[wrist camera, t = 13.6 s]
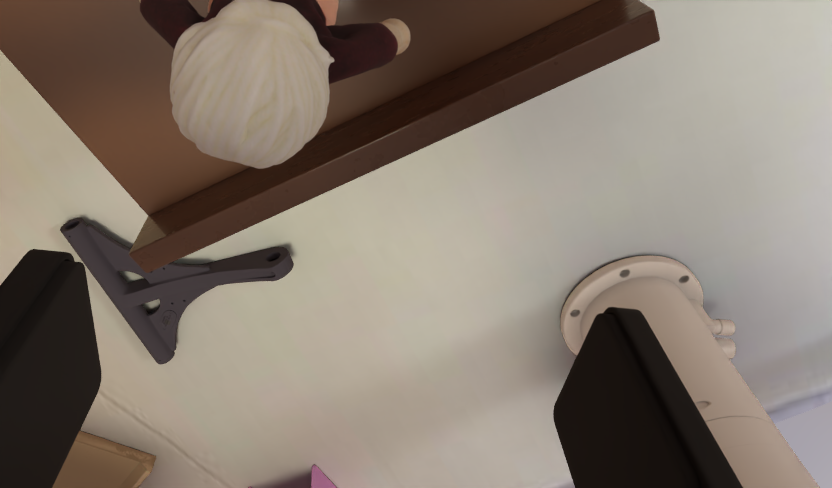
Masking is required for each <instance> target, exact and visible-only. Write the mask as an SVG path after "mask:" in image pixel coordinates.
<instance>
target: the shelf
mask: <svg viewBox="0 0 832 488" xmlns="http://www.w3.org/2000/svg"><path fill="white" fill-rule="evenodd" d="M188 1H189V2H190V4H191V5H192V6H193V7H194V8H195V9H196V11H197V12H198V13H199V15H201V16H202V17H204V18H205V17H206V16H207V15H208V13H209V12H208V5H209V0H188ZM387 19H399V20H401V21H402V22H404V23H405V24H406V26H407V27H408V29H409V31H410V43H409V46H408V47H407V49H406V50H405V51H404V52H402V53H400V54H398V55H396V56H395V58H394V59H393V60H392V61H391V62H389V63H388V64H386V65H384V66H382V67H380V68H376V69H372V70H369V71H367V72H364V73H361V74H359V75H356V76H353V77H349V78H346V79H343V80H340V81H338V82H334V83H331V84H329V91H330V94H329V104H328V107H327V114H326V118H325V120H324V122H323V124H322V126H321V127H320V129H319V131H318V132H317V134H316V135H315V136H314V137H313V138H312V139H311V140H310V141H309V142H307V143H305V145H304V146H303V148H302V149H301V150H300V151H298V152H297V153H296V154H295V155H294V156H292V157H291V158H289V159H287V160H286V161H284V162H283V163H281V164H278V165H273V166H270V167H268V168H263V169H258V168H254V167H251V166H247V165H243V164H240V163H237V162H232V161H227V160H223V159H220V158H216V157H213V156H210V155H208V154H205V153H203V152H201V151H200V150H199V149H198V148H197V146H196V144H195V143H194V142H192V141H191V140H189V139H187V138H186V137H185V136H184V135H183V134H182V133H181V132H180V129H179V126H178V124H177V123H176V121H175V119H174V117H173V114H172V107H173V104H172V102H171V96H170V80H171V71H172V60H173V54H174V49H173V48H172V47H171V46H170V45H169V44H168V43H167V42H166V40H164V39H163V38H162V37H161V36H160V35H159V34H158V33H157V32H156V31H155V30H154V29H153V28H152V27H151V26H150V25H149V24H148V23H147V21H146V20H145V19H144V18H143V16H142V14H141V12H140V1H139V0H0V50H1V51H2V52H3V53H4V55H5V56H6V57H7V58H8V59H9V60H10V61H11V62H12V64H13V65H14V66H15V67H16V68H17V69H18V70H19V71H20V72H21V74H22V75H23V76H24V77H25V78H26V79H27V80H28V81H29V83H30V84H31V85H32V86H33V87H34V88H35V89H36V90H37V91H38V93H39V94H40V95H41V96H42V97H43V98H44V99H45V100H46V102H47V103H48V104H49V105H50V106H51V107H52V108H53V109H54V111H55V112H56V113H57V114H58V115H59V116H60V117H61V118H62V119H63V121H64V122H65V123H66V124H67V125H68V126H69V127H70V128H71V130H72V131H73V132H74V133H75V134H76V135H77V136H78V137H79V138H80V140H81V141H82V142H83V143H84V144H85V145H86V146H87V147H88V149H89V150H90V151H91V152H92V153H93V154H94V155H95V156H96V158H97V159H98V160H99V161H100V162H101V163H102V164H103V165H104V166H105V168H106V169H107V170H108V171H109V172H110V173H111V174H112V175H113V177H114V178H115V179H116V180H117V181H118V182H119V183H120V184H121V186H122V187H123V188H124V189H125V190H126V191H127V192H128V193H129V194H130V196H131V197H132V198H133V199H134V200H135V201H136V202H137V203H138V205H139V206H140V207H141V208H142V209H143V210H144V211H145V212H146V213H147V215H148V218H147V220H146V221H145V223H144V225H143V227H142V229H141V231H140V233H139V235H138V237H137V239H136V241H135V242H134V244H133V246H132V248H131V250H130V252H129V256H130V257H131V258H132V259H133V260H134V261H135V262H136V263H137V264H138V265H139V266H140V267H141V268H142V269H143V270H144V272H145V273H149V272H151V271H154V270H156V269H158V268H160V267H162V266H165V265H167V264H169V263H171V262H173V261H176V260H178V259H180V258H182V257H184V256H187V255H189V254H191V253H193V252H195V251H198V250H200V249H202V248H204V247H206V246H209V245H211V244H213V243H215V242H217V241H220V240H222V239H224V238H226V237H228V236H231V235H233V234H235V233H237V232H239V231H242V230H244V229H246V228H248V227H250V226H253V225H255V224H257V223H259V222H261V221H264V220H266V219H268V218H270V217H272V216H275V215H277V214H279V213H281V212H283V211H286V210H288V209H290V208H292V207H294V206H297V205H299V204H301V203H303V202H305V201H308V200H310V199H312V198H314V197H316V196H319V195H321V194H323V193H325V192H327V191H330V190H332V189H334V188H336V187H338V186H341V185H343V184H345V183H347V182H349V181H352V180H354V179H356V178H358V177H360V176H363V175H365V174H367V173H369V172H371V171H374V170H376V169H378V168H380V167H382V166H385V165H387V164H389V163H391V162H393V161H396V160H398V159H400V158H402V157H404V156H407V155H409V154H411V153H413V152H415V151H418V150H420V149H422V148H424V147H426V146H429V145H431V144H433V143H435V142H437V141H440V140H442V139H444V138H446V137H448V136H451V135H453V134H455V133H457V132H459V131H462V130H464V129H466V128H468V127H470V126H473V125H475V124H477V123H479V122H481V121H484V120H486V119H488V118H490V117H492V116H495V115H497V114H499V113H501V112H503V111H506V110H508V109H510V108H512V107H514V106H517V105H519V104H521V103H523V102H525V101H528V100H530V99H532V98H534V97H536V96H539V95H541V94H543V93H545V92H547V91H550V90H552V89H554V88H556V87H558V86H561V85H563V84H565V83H567V82H569V81H572V80H574V79H576V78H578V77H580V76H583V75H585V74H587V73H589V72H591V71H594V70H596V69H598V68H600V67H602V66H605V65H607V64H609V63H611V62H613V61H616V60H618V59H620V58H622V57H624V56H627V55H629V54H631V53H633V52H635V51H638V50H640V49H642V48H644V47H646V46H649V45H651V44H653V43H655V42H657V41H659V40H660V36H659V32H658V27H657V22H656V17H655V12H654V10H653V9H651V8H650V7H648V6H647V5H645V4H643V3H642V2H640V1H639V0H339V3H338V10H337V16H336V22H335V25H340V26H343V25H348V24H359V23H380V22H383V21H384V20H387Z"/></svg>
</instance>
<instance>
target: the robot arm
mask: <svg viewBox="0 0 832 488" xmlns="http://www.w3.org/2000/svg"><path fill="white" fill-rule="evenodd" d="M702 306H703V291H702V288H701V286H700V283H699V281H698V280H697V279H696V277H695V276H694V274H693V273H692V272H691V271H690V270H689V269H688V268H687V267H686V266H685V265H683V264H681V263H680V262H678V261H676V260H673V259H670V258H667V257H662V256H652V255H648V256H635V257H631V258H626V259H622V260H619V261H616V262H613V263H611V264H608V265H606V266H604V267H602V268H601V269H599V270H597V271H595V272H594V273H592V274H591V275H590V276H588V277H587V278H585V279H584V280H583V281H582V282H581V283H580V284H579V285H578V286H577V287H576V288H575V289H574V290H573V292H572V293H571V294H570V296H569V297H568V299H567V301H566V303H565V305H564V307H563V309H562V314H561V318H560V327H561V331H562V335H563V337H564V340H565V342H566V344H567V346H568V348H569V349H570V350H571V351H572V352H573V354H575V355H576V356H577V357H576V360H575V362H574V364H573V366H572V368H571V370H570V373H569V375H568V377H567V379H566V381H565V383H564V386H563V388H562V390H561V392H560V394H559V396H558V399H557V401H556V403H555V406H554V422H555V426H556V429H557V432H558V435H559V438H560V442H561V445H562V448H563V451H564V454H565V457H566V460H567V463H568V467H569V470H570V473H571V476H572V479H573V482H574V485H575V488H820V487H819V486H818V484H817V483H816V482H815V480H814V479H813V478H812V476H811V475H810V473H809V472H808V471H807V469H806V468H805V467H804V466H803V464H802V463H801V461H800V460H799V459H798V457H797V456H796V454H795V453H794V452H793V450H792V449H791V447H790V446H789V445H788V443H787V442H786V440H785V439H784V437H783V436H782V434H781V433H780V432H779V430H778V429H777V428H776V426H775V424H774V423H773V422H772V420H771V419H770V417H769V416H768V414H767V413H766V411H765V410H764V409H763V407H762V406H761V404H760V403H759V401H758V400H757V398H756V397H755V396H754V394H753V393H752V391H751V390H750V388H749V387H748V385H747V384H746V383H745V381H744V380H743V378H742V377H741V375H740V374H739V372H738V371H737V370H736V368H735V367H734V365H733V364H732V362H731V361H730V359H732V358H733V357H734V356H735V352H736V346H735V344H734V342H733V341H732V340H731V339H725V338H714V336H713V335H712V334H716V335H728V336H731V335H733V334H734V331H735V324H734V322H733V321H731V320H722V319H716V320H713V319H711V318H710V317H709V316H708V315H707V313H706V312H705V311H704V309H703V308H702ZM100 382H101V367H100V360H99V354H98V348H97V342H96V335H95V329H94V323H93V316H92V310H91V304H90V297H89V291H88V285H87V278H86V272H85V267H84V265H83V263H81V262H75V261H74V258H73V256H72V255H71V254H70V253H67V252H57V251H47V250H37V249H33V250H30V251H29V252H27V253H26V254H25V256H24V257H23V258H22V259H21V261H20V262H19V263H18V264H17V266H16V267H15V268H14V269H13V271H12V272H11V273H10V274H9V275H8V277H7V278H6V279H5V280H4V282H3V283H2V284H1V285H0V488H52V487H53V485H54V483H55V481H56V479H57V477H58V474H59V472H60V470H61V468H62V466H63V464H64V462H65V460H66V458H67V456H68V454H69V451H70V449H71V447H72V445H73V443H74V441H75V439H76V437H77V435H78V433H79V431H80V428H81V426H82V424H83V422H84V420H85V418H86V416H87V414H88V412H89V410H90V408H91V405H92V403H93V401H94V399H95V397H96V395H97V393H98V390H99V387H100Z"/></svg>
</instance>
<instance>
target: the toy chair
mask: <svg viewBox="0 0 832 488" xmlns="http://www.w3.org/2000/svg"><path fill="white" fill-rule="evenodd" d="M248 488H252V487H248ZM311 488H336V486H335V485H334V484H333V483H332V482H331V481H330V480H329V479H328V478H327V477H326V476H325V475H324V474H323V472H322V471H321V470H320V469H319V468H318V467H317V466H316V465H314V466H312V481H311Z"/></svg>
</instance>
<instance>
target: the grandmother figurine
mask: <svg viewBox="0 0 832 488" xmlns="http://www.w3.org/2000/svg"><path fill="white" fill-rule="evenodd" d="M139 1H140V12H141V14H142V16H143V18H144V19H145V20H146V21H147V23H148V24H149V25H150V26H151V27H152V28H153V29H154V30H155V31H156V32H157V33H158V34H159V35H160V36H161V37H162V38H163V39H164V40H166V42H167V43H168V44H169V45H170V46H171V47H172V48H173V49H174V54H173V60H172V71H171V80H170V96H171V102H172V104H173V107H172V114H173V117H174V119H175V121H176V123H177V124H178V126H179V129H180V132H181V133H182V134H183V135H184V136H185V137H186V138H187V139H189V140H191V141H192V142H194V143H195V144H196V146H197V148H198V149H199V150H200V151H201V152H203V153H205V154H208V155H210V156H213V157H216V158H220V159H223V160H227V161H232V162H237V163H240V164H243V165H247V166H251V167H254V168H258V169H263V168H268V167H270V166H273V165H278V164H281V163H283V162H284V161H286V160H287V159H289V158H291V157H292V156H294V155H295V154H296V153H297V152H298V151H300V150H301V149H302V148H303V146H304V145H305V143H307V142H309V141H310V140H311V139H312V138H313V137H314V136H315V135H316V134H317V132H318V131H319V129H320V127H321V126H322V124H323V122H324V120H325V118H326V114H327V107H328V104H329V94H330V91H329V84H331V83H334V82H338V81H340V80H343V79H346V78H349V77H353V76H356V75H359V74H361V73H364V72H367V71H369V70H372V69H376V68H380V67H382V66H384V65H386V64H388V63H389V62H391V61H392V60H393V59H394V58H395V56H396V55H398V54H400V53H402V52H404V51H405V50H406V49H407V47H408V46H409V43H410V31H409V29H408V27H407V26H406V24H405V23H404V22H402V21H401V20H399V19H387V20H384V21H383V22H380V23H359V24H348V25H343V26H340V25H335V22H336V16H337V10H338V3H339V0H209V5H208V12H209V13H208V15H207V16H206V17H205V18H204V17H202V16H201V15H199V13H198V12H197V11H196V9H195V8H194V7H193V6H192V5H191V4H190V2H189V1H188V0H139Z"/></svg>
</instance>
